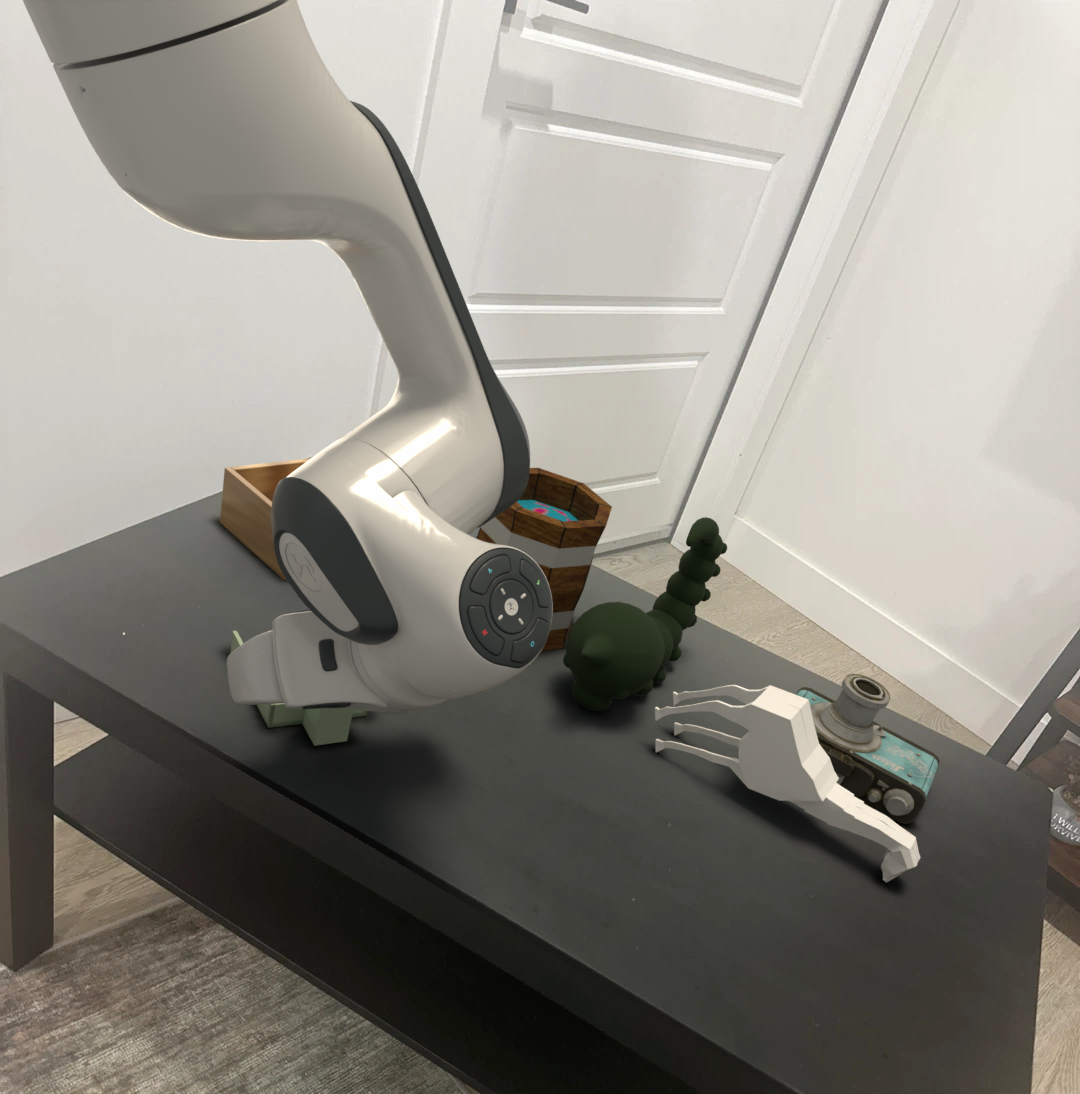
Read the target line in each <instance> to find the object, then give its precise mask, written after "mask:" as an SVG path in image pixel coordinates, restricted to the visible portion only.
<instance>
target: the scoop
mask: <svg viewBox="0 0 1080 1094" xmlns="http://www.w3.org/2000/svg"><path fill="white" fill-rule="evenodd" d="M231 634H232V635H231V643H230V653H231V652H233V651H234V650H235V649H236V648H238V647H239V646H240V645H242V644H243V643H244V642H243V639H242V638H241V635H240V634H239V632H238V630H232V633H231ZM230 653H229V654H230ZM256 707H257V709H258V710H259V713H260V714H261V716H262V719H263V721H264V722H265V724H266V726H267V728H268V729H271V728H278V727H286V726H295V725H302V726H303V728H304V730H305V731H306V733H307V735H308V737H309V739H310V740H311V743H312V744H313V746H323V745H329V744H336V743H338V744H339V743H345V742H348V739H349V733H350V728H351V723H352V718H359V717H366V716H367V712H368V711H364V710H358V709H352V708H316V709H303V708H300V709H288V708H286V707H285V704H284V703H277V704H259V705H256Z"/></svg>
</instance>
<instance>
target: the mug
mask: <svg viewBox="0 0 1080 1094" xmlns="http://www.w3.org/2000/svg"><path fill="white" fill-rule="evenodd" d="M612 509H613V506H612V505H610V503H608V502H607V501H606V500H605V499H603V498H602V497H601V496H600V495H598V493H596V492H595V491H594V490H593V489H591V488H590V487H589V486H588V485H587V484H585V483H584V482H581V481H578V480H575V479H572V478H569V477H567V476H563V475H562V474H558V473H555V472H552V471H550V470H546V469H543V468H541V467H530V473H529V480H528V484H527V487H526V489H525V491H524V493H523V495H522V496H521V498H520V499H519V500H518V501H517V502H516V503H515V504H513V505H512V506H510V507H509V508H507V509H506V510H504V511H503V512H502V513H500V514H499V515H497V516H496V517H494V518H493V519H491V520H490V521H488V522H487V523H486V524H484V525H482V526H481V527H479V528H478V532H477V535H476V537H475V538H476V539H479V540H481V541H484V542H488V543H493V544H500V545H506V546H511V547H514V548H517V549H519V550H521V551H523V552H524V553H526V554H527V555H529V556H530V557H531V558H532V559H533V560H534V561H535V562H536V563H537V564H538V565H539V567H540V568H541V569H542V571H543V573H544V574H545V576H546V579H547V581H548V584H549V587H550V590H551V595H552V603H553V614H552V622H551V628H550V632H549V635H548V638H547V641H546V643H545V645H544V647H543V649H542V650H541V652H544V651H552V650H559V649H564V648H565V646H566V644H567V640H568V636H569V633H570V630H571V628H572V625H573V624H572V623H573V619H574V614H575V610H576V608H577V606H578V603H579V601H580V599H581V596H582V594H583V592H584V590H585V587H586V584H587V580H588V577H589V574H590V572H591V571H590V570H591V569H592V568H591V567H592V563H593V560H594V555H595V551H596V548H597V546H598V543H599V542H600V539H601V538H602V535H603V533H604V531H605V529H606V527H607V524H608V521H609V518H610V515H611V512H612Z"/></svg>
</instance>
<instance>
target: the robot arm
mask: <svg viewBox="0 0 1080 1094" xmlns="http://www.w3.org/2000/svg"><path fill="white" fill-rule="evenodd" d="M22 3H23V5H24V6H25V9H26V11H27V13H28V15H29V17H30V19H31V22H32V24H33V26H34V28H35V31H36V33H37V35H38V37H39V39H40V42H41V44H42V46H43V48H44V50H45V52H46V55H47V56H48V59H49V61H50V63H52V64H53V65H52V67H53V70H54V72H55V74H56V76H57V78H58V81H59V82H60V86H61V87H62V89H63V91H64V93H65V96H66V97H67V100H68V102H69V105H70V107H71V109H72V111H73V113H74V114H75V117H76V119H77V121H78V123H79V125H80V127H81V129H82V131H83V132H84V134H85V136H86V138H87V140H88V142H89V144H90V145H91V147H92V149H93V151H94V152H95V154H96V155H97V157H98V158H99V160H100V162H101V163H102V165H103V166H104V168H105V169H106V171H107V173H108V174H109V175H110V177H111V178H112V179H113V181H114V182H115V183H116V184H117V186H118V187H119V188H120V189H121V191H123V193H125V194H126V195H127V196H128V197H129V198H131V199H132V200H133V201H134V202H135V203H137V204H138V205H139V206H140V207H142V208H143V209H144V210H146V211H147V212H148V213H150V214H152V215H153V216H155V217H157V218H158V219H160V220H162V221H164V222H166V223H168V224H170V225H172V226H173V227H176V228H178V229H181V230H183V231H186V232H189V233H191V234H196V235H200V236H203V237H208V238H214V239H221V240H230V241H243V242H244V241H245V242H287V241H288V242H289V241H291V242H292V241H313V242H317V243H319V244H321V245H323V246H325V247H327V248H328V249H329V250H330V251H332V252H333V253H334V254H335V255H336V256H337V257H338V258H339V259H340V261H341V262H343V264H344V265H345V267H346V268H347V270H348V272H349V274H350V275H351V277H352V280H353V281H354V283H355V285H356V287H357V289H358V292H359V293H360V296H361V297H362V300H363V302H364V304H365V305H366V308H367V310H368V312H369V314H370V316H371V318H372V320H373V322H374V325H375V326H376V329H377V330H378V332H379V335H380V336H381V339H382V341H383V342H384V344H385V346H386V349H387V350H388V353H389V355H390V358H391V359H392V361H393V363H394V366H395V368H396V370H397V383H396V386H395V389H394V392H393V394H392V396H391V398H390V400H389V401H388V402H387V404H386V405H385V406H384V407H383V408H381V409H380V410H379V411H378V412H376V413H375V414H373V415H372V416H371V417H369V418H368V419H366V420H365V421H363V422H362V423H361V424H359V425H358V426H356V427H355V428H354V429H352V430H351V431H349V432H348V433H347V434H345V435H344V436H343V437H341V438H339V439H336V440H334V441H333V442H332V443H330V444H329V445H328V446H326V447H325V448H323V449H321V450H320V451H319V452H318V453H316V454H315V455H313V456H311V457H310V458H311V459H309V460H308V461H307V462H305V463H304V464H303V465H301V466H300V467H299V468H297V469H296V470H295V471H293V472H292V473H291V474H289V475H288V476H287V477H286V478H283V479H282V480H280V481H279V483H278V484H277V486H276V489H275V492H274V495H273V500H272V508H271V526H272V537H273V544H274V550H275V555H276V559H277V562H278V564H279V567H280V569H281V571H282V573H283V575H284V576H285V578H286V579H287V580H286V581H287V582H288V585H290V587H291V588H292V590H293V591H294V593H295V594H296V595H297V597H298V598H299V599H300V600H301V602H302V603H303V604H304V605H305V606H306V607H307V608H308V609H306V610H300V611H295V612H292V613H285V614H281V615H279V616H277V617H275V618H274V619H273V620H272V625H271V626H272V629H271V630H269V631H268V630H267V631H265V632H262V633H260V634H257V635H255V636H253V637H251V638H250V639H248V640H246V641H244V642H243V644H242V645H240V646H239V647H238V648H236V649H235V650H234V651H233V652H231V653H229V654H228V656H227V658H226V674H227V683H228V689H229V692H230V697H231V699H232V701H233V703H234V704H236V705H238V706H257V705H259V704H277V703H284V704H285V707H286V708H288V709H300V708H303V709H316V708H352V709H358V710H364V711H367V712H377V713H381V714H386V715H402V714H406V713H410V712H414V711H416V710H417V711H418V710H421V709H426V708H429V707H432V706H437V705H439V704H442V703H444V702H447V701H448V700H456V699H462V698H467V697H469V696H473V695H477V694H480V693H482V692H485V691H488V690H490V689H493V688H495V687H497V686H500V685H502V684H504V683H507V682H509V681H510V680H512V679H514V678H515V677H517V676H519V675H520V674H521V673H523V672H524V671H525V670H526V669H528V668H529V667H530V666H531V665H532V664H533V662H534V661H536V659H537V658H538V656H539V655H540V654H541V652H542V651H541V650H542V649H543V647H544V645H545V643H546V641H547V638H548V635H549V632H550V628H551V622H552V614H553V603H552V595H551V590H550V587H549V584H548V581H547V579H546V576H545V574H544V573H543V571H542V569H541V568H540V567H539V565H538V564H537V563H536V562H535V561H534V560H533V559H532V558H531V557H530V556H529V555H527V554H526V553H524V552H523V551H521V550H519V549H517V548H514V547H511V546H506V545H500V544H493V543H488V542H484V541H481V540H479V539H476V538H477V537H473V536H472V535H471V534H472V533H473V532H474V531H475V530H476V529H480V527H481V526H482V525H484V524H486V523H487V522H488V521H490V520H491V519H493V518H494V517H496V516H497V515H499V514H500V513H502V512H503V511H504V510H506V509H507V508H509V507H510V506H512V505H513V504H515V503H516V502H517V501H518V500H519V499H520V498H521V496H522V495H523V493H524V491H525V489H526V487H527V484H528V480H529V473H530V468H531V444H530V438H529V434H528V430H527V427H526V424H525V422H524V420H523V417H522V416H521V413H520V411H519V409H518V408H517V406H516V404H515V403H514V401H513V399H512V398H511V396H510V395H509V392H508V391H507V389H506V388H505V386H504V385H503V383H502V381H501V380H500V379H499V376H498V374H497V373H496V371H495V369H494V367H493V365H492V363H491V362H490V359H489V357H488V354H487V352H486V350H485V347H484V345H483V343H482V339H481V338H480V335H479V333H478V330H477V328H476V324H475V322H474V320H473V317H472V314H471V312H470V310H469V307H468V305H467V302H466V301H465V297H464V296H463V293H462V290H461V288H460V286H459V282H458V280H457V278H456V275H455V273H454V271H453V268H452V265H451V263H450V261H449V258H448V255H447V253H446V250H445V248H444V246H443V243H442V241H441V238H440V236H439V233H438V231H437V228H436V226H435V223H434V221H433V219H432V216H431V213H430V211H429V209H428V206H427V204H426V202H425V200H424V197H423V195H422V193H421V191H420V188H419V185H418V184H417V181H416V179H415V177H414V175H413V173H412V171H411V168H410V166H409V164H408V162H407V161H406V159H405V156H404V155H403V153H402V151H401V149H400V147H399V145H398V143H397V142H396V140H395V139H394V137H393V135H392V134H391V132H390V131H389V129H388V128H387V126H386V125H385V124H384V123H383V121H382V120H381V119H380V118H379V117H378V116H377V115H376V114H375V113H374V112H373V111H371V110H370V109H369V108H368V107H367V106H365V105H363V104H361V103H358V102H355V101H352V100H349V98H348V97H347V95H346V94H345V93H344V92H343V90H342V89H341V88H340V86H339V84H338V83H337V82H336V80H335V79H334V77H333V76H332V74H331V72H330V71H329V69H328V68H327V66H326V64H325V63H324V60H323V59H322V57H321V56H320V53H319V51H318V50H317V47H316V46H315V45H316V44H315V43H314V41H313V39H312V37H311V35H310V32H309V30H308V28H307V25H306V23H305V22H306V21H304V18H303V14H302V13H301V9H300V6H299V3H298V0H22Z"/></svg>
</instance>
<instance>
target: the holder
mask: <svg viewBox="0 0 1080 1094" xmlns="http://www.w3.org/2000/svg"><path fill="white" fill-rule="evenodd" d="M311 458H312V457H309V458H300V459H291V460H282V461H281V460H280V461H273V462H264V463H263V462H262V463H255V464H244V465H237V466H227V467H224V473H223V481H222V482H223V483H222V493H221V503H220V504H221V505H220V518H219V524H221V526H223V527H224V528H225V529H226V530H227V531H229V532H230V533H231V534H232V535H233V536H234V537H235V538H236V539H238V540H239V542H240V543H242V544H243V545H244V546H245V547H246V548H247V549H248V550H250V551H251V552H252V553H253V554H254V555H255V556H256V557H257V558H259V560H261V561H262V562H263V563H264V564H265V565H267V566H268V568H270V569H271V570H272V571H273V572H274V573H276V574H277V575H278V577H280V578H281V579H282V580H283V581H285V580H286V581H287V579H286V578H285V576H284V575H283V573H282V571H281V569H280V567H279V564H278V562H277V559H276V555H275V550H274V544H273V537H272V526H271V508H272V500H273V495H274V492H275V489H276V486H277V484H278V483H279V481H280V480H282V479H283V478H286V477H287V476H288V475H289V474H291V473H292V472H293V471H295V470H296V469H297V468H299V467H300V466H301V465H303V464H304V463H305V462H307V461H308V460H309V459H311Z"/></svg>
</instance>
